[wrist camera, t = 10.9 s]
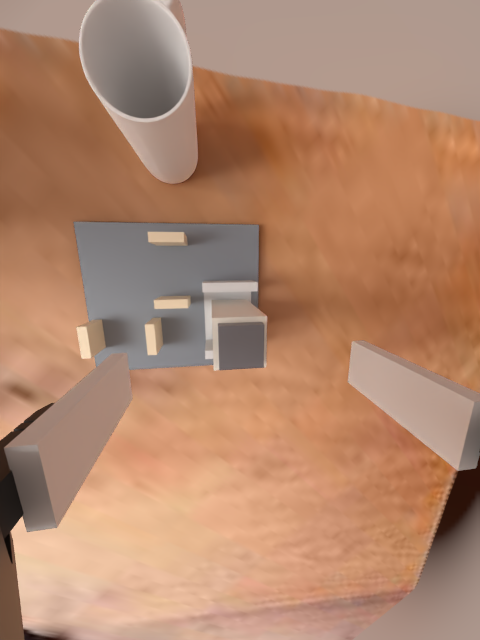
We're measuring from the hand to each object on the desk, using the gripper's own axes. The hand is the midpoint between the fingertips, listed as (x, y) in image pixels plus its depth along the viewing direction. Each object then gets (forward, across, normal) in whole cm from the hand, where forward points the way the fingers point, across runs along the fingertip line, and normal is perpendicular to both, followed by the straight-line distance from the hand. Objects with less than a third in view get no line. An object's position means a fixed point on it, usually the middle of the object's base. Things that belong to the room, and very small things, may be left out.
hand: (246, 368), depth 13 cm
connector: (+17, 0, 0) cm, 17 cm away
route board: (+18, -6, +2) cm, 19 cm away
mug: (+18, -5, +20) cm, 27 cm away
